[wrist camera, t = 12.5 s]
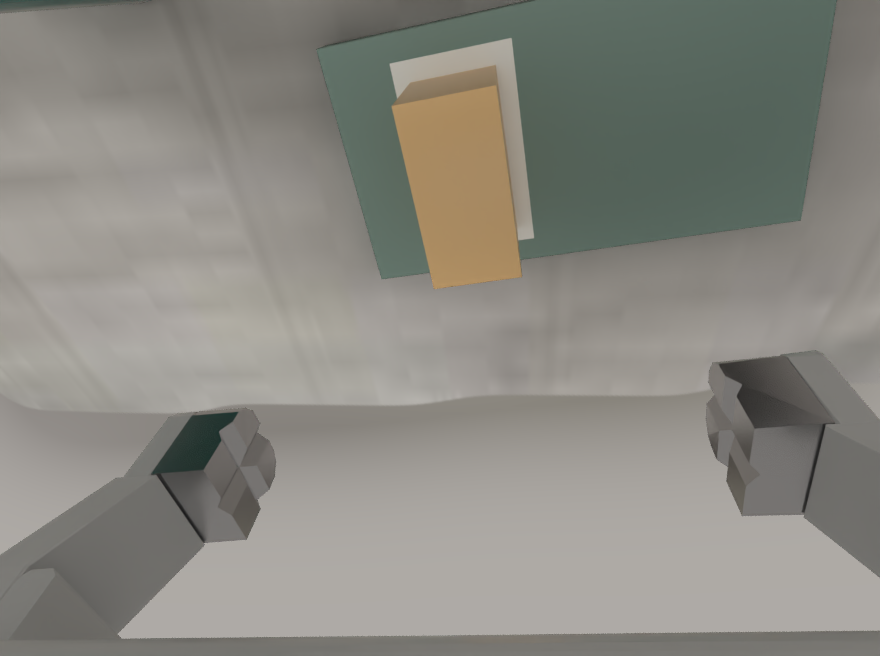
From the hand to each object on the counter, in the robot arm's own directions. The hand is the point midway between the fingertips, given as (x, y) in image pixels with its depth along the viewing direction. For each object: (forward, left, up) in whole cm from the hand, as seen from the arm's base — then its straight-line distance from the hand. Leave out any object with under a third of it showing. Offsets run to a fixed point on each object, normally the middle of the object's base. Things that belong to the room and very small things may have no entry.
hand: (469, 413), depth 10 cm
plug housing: (+1, +1, -20) cm, 20 cm away
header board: (-4, +1, -21) cm, 22 cm away
